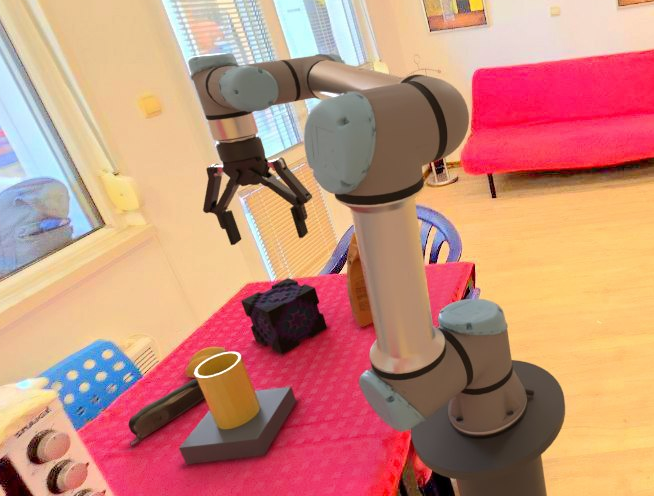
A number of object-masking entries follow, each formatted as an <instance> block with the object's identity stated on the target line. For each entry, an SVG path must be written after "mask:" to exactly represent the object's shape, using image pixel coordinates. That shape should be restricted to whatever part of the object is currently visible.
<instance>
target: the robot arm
mask: <svg viewBox="0 0 654 496" xmlns="http://www.w3.org/2000/svg"><path fill="white" fill-rule="evenodd" d="M187 65H188V70H189V73H190V80H191V81H192V82H193V85H194V88H195V91H196V94H197V97H198V99H199V102H200V105H201V108H202V110H203V113H204V116H205V119H206V123H207V125H208V128H209V132H210V134H211V138H212V140H213V141H216V142H215V144H214V146H215V148H216V151H217V155H218V157H219V160H220V161H221V162H222V164H221V165H220V164H218V163H214V164H212V165H210V166H208V167H207V168H206V174H207V178H208V179H207V184H206V191H205V196H204V203H203V208H202V211H203V212H204V213H205V214H209V213H210V214H214V215H215V216H216V219H217V222H218V224H219V226H220V228H221V230H225V232H226V235H227V238H228V241H229V243H230V246H235V245H237V244H238V243H239V242H240V241H242V235H241V233H240V230H239V227H238V225H237V224H238V223H237V221H236V219H235V215H234V213H233V210H232V209H230V210H229V208H228V207H229V206H230V204H231V202H232V200H233V198H234V197H235V194H236V192H237V191H238V188H239V187H240V186H241V187H247V186H249V185H250V186H258V185H259V184H261V185H262V186H264V187H266V188H268V189H270V190H271V191H272V192H274V193H275V194H277V195H278V196H279V197H281V198H282V199H283V200H285V201H286V202H288V203H289V204H290V205H291V207H290V208H289V210H290V213H291V216H292V217H291V218H292V220H293V223H294V226H295V229H296V233H297V236H298V238H299V239H303V238H304V237H306V235H307V234H308V233H309V230H308V227H307V224H306V220H307V219H308V213H307V209H306V205H305V204H307V203H309V202H310V201H311V200H312V198H313V195H312V193H310V191H309V190H308V189H307V187H305V186H304V184H303V183H302V182H301V181H300V179H298V178H297V177H296V175H295V174H294V173H293V172H292V170H290V168H289V166H288V165H287V162H286V160H285V158H284V157H278V158H276V159H272V160H268V158H267V157H266V152H265V148H264V144H263V141H262V138H261V136H259V135H258V132H259V129H258V126H257V123H256V119H255V116H254V112H260V111H265V110H267V109H269V108H271V107H273V106H278V105H279V106H280V105H284V104H288V103H294V102H299V101H304V100H311V99H316V100H317V99H318V100H319V101H318V102H317V103H315V104H314V105H313V106H312V107H311V109H310V112H309V113H308V114H307V117H306V120H305V124H304V131H303V144H304V146H303V147H304V152H305V157H306V160H307V163H308V166H309V168H310V169H312V172H313V173H312V175H313V177H314V179H315V180H316V183H318V184H319V186H320V187H321V188H322V189H323V190H324V191H326V192H327V193H329V194H333V195H334V199H335V201H337V202H338V203H340V204H341V205H343V206H345V207H347V208H349V211H350V215H351V220H352V225H353V230H354V233H355V235H356V240H357V245H358V250H359V255H360V260H361V265H362V270H363V275H364V279H365V284H366V289H367V294H368V299H369V304H370V309H371V314H372V319H373V323H372V324H373V327H374V332H375V337H376V340H374V342H373V344H372V345H371V347H370V350H369V353H368V354H369V359H370V360H369V361H370V365H371V368H370V369H366V370H364V372H363V373H362V374H361V375H360V376H359V378H358V385H359V388H360V390H361V392H362V395H363V396H364V398H365V400H366V401H367V403H368V404H369V406H370V407H371V409H372V410H373V411H374V412H375V413H376V415H377V416H378V417H379V418H380V419H381V420H382V421H383V422H384V423H385V424H386V425H387V426H388V427H390V428H391V429H393V430H395V431H397V432H400V433H402V432H403V433H405V432H408V431H411V429H412V428H413V427H415V426H416V425H418V424H419V423H421V422H424V421H425V419H426V418H428V417H429V416H430V415H432V414H433V413H434V412H435V411H437V410H438V409H439V408H441V407H442V406H443V405H444V404H446V403H447V402H448V401H449V405H448V415H449V420H450V423H451V426H452V427H453V429H454V430H455V431H456V432H457V433H459V434H461V435H463V436H465V437H468V438H474V439H484V438H491V437H495V436H498V435H500V434H503V433H505V432H507V431H508V430H510V429H512V428H513V427H514V426H516V425H517V424H518V423H519V422H520V421H521V419H522V418H523V416H524V415H525V413H526V410H527V404H528V403H527V395H531V396H533V395H534V391H532V390H527V389H524V387H523V385H522V383H521V381H520V380H519V378H518V376H517V375H516V373H515V371H514V370H513V366H512V360H513V359H512V354H511V347H510V346H511V345H510V340H509V331H508V323H507V320H506V317H505V313H504V310H503V308H502V306H500V305H499V304H497V302H494V301H492V300H488V299H485V298H466V299H460V300H456V301H454V302H451V303H449V304H447V305H445V306H444V307H443V308H441V310H440V311H439V314H438V318H437V324H438V326H437V327H436V326H434V322H433V315H432V307H431V300H430V293H429V288H428V280H427V274H426V273H427V272H426V267H425V266H426V265H425V260H424V252H423V246H422V239H421V231H420V224H419V219H418V211H417V204H416V198H417V197H418V196H419V194H420V193H422V192H423V190H424V188H425V181H424V173H423V167H425V166H427V165H429V164H431V163H434V162H437V161H439V160H442V159H445V158H447V157H448V156H450V155H451V154H453V153H455V151H456V150H457V149H458V148H459V147H460V146H461V144H462V143H463V141H464V140H465V139H466V135H467V134H468V131H469V125H470V113H469V108H468V105H467V101H466V100H465V98H464V96H463V95H462V94H461V92H460V90H458V89H457V88H456V87H455V86H454V85H452V84H451V83H449V82H448V81H446V80H443V79H441V78H437V77H433V76H428V75H424V74H417V73H416V74H410V75H407V76H406V77H403V76H399V75H395V74H390V73H386V72H382V71H377V70H374V69H369V68H364V67H360V66H356V65H351V64H348V63H346V61H345V60H344V59H342V57H341V56H340V55H339V54H335V53H328V54H327V53H318V54H315V55H309V56H302V57H295V58H288V59H279V60H278V59H277V60H272V61H271V60H270V61H263V62H256V63H247V64H240V65H239V63H238V62H237V59H236V56H235V55H234V54H233V53H231V52H221V53H220V52H219V53H211V54H210V53H209V54H201V55H194V56H191V57H189V58H188V60H187ZM270 168H271V169H272V171H274V172H275V173H276V174H277V176H278V177H279V178H280V179H281V180H282V181H283V182H282V181H281V180H279V179H278V178H277V176H276V175H275V174H273V173H272V172H271V171H270ZM224 174H225V175H226V176H227V177H229V179H228V181H227V183H226V184H225V189H224V190H223V192H222V194H221V196H220V198H219V195H220V188H221V183H222V178H223V176H224ZM284 183H285V184H284Z"/></svg>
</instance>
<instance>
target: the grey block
mask: <svg viewBox="0 0 654 496" xmlns="http://www.w3.org/2000/svg"><path fill="white" fill-rule="evenodd" d="M255 392H256V395H257V398H258V400H259V404H260V410H259V412H258V413H257V414H256V416H255V417H253V418H252V419H251V420H250V421H248V422H247V423H245V424H243V425H241V426H238V427H236V428H232V429H220V428H218V427H217V425H216V423H215V421H214V419H213V417H212V414H211V412H210V410H208V411H207V412H206V413H205V414H204V416H203V417H202V418H201V420H200V421H199V422H198V423H197V425H196V426H195V427H194V428H193V430H192V431H191V432H190V434H188V436H187V437H186V438H185V440H184V441H183V442H182V443H181V445H180V446H179V447H178V449H179V452H180V454H181V456H182V457H183V460H184V462H185V464H186V465H194V464H201V463H211V462H220V461H227V460H236V459H245V458H251V457H252V458H253V457H260V456H265V454H266V453H267V451H268V450H269V448H270V446H271V445H272V444H273V441H274V439H276V436H277V434H278V433H279V432H280V430H281V428H282V427H283V424H284V423H285V422H286V420H287V418H288V417H289V414H290V413H291V411H292V410H293V408H294V407H295V405H296V403H297V400H296V397H295V394H294V391H293V388H292V386H282V387H273V388H266V389H257V390H255Z"/></svg>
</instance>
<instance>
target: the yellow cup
mask: <svg viewBox="0 0 654 496" xmlns="http://www.w3.org/2000/svg"><path fill="white" fill-rule="evenodd" d="M194 375H195V378H196V380H197V382H198V384H199V387H200V389H201V391H202V394H203V396H204V401H205V403H206V405H207V407H208V409H209V410H210V412H211V414H212V417H213V419H214V421H215V423H216V425H217V427H218V428H220V429H232V428H236V427H238V426H241V425H243V424H245V423H247V422H248V421H250V420H251V419H252V418H253V417H255V416H256V414H257V413H258V412H259V410H260V404H259V400H258V398H257V395H256V392H255V391H256V390H255V388H254V385H253V383H252V379H251V377H250V375H249V372H248V370H247V367H246V364H245V361H244V358H243V356H242V355H241V354H240V352H237V351H227V352H225V353H221V354H218V355H215V356H213V357H211V358H209V359H207V360H205V361H204V362H202V363H201V364H200V365H199V366H198V367H197V368H196V369H195V372H194ZM195 378H194V379H195ZM209 410H208V411H209Z"/></svg>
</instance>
